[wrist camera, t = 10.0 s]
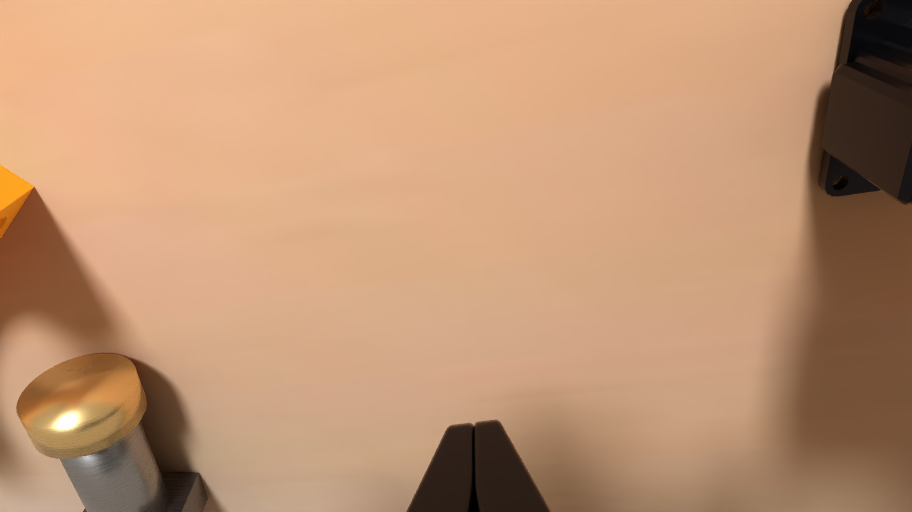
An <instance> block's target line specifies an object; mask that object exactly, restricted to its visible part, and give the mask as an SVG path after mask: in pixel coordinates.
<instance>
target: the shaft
mask: <svg viewBox="0 0 912 512" xmlns="http://www.w3.org/2000/svg"><path fill="white" fill-rule="evenodd" d="M146 406H147V399H146V396H145V393H144V390H143V387H142V385H141V382H140V379H139V377H138V374H137V371H136V368H135V366H134V364H133V363H132V362H131V361H130V360H129V359H127V358H126V357H124V356H121V355H117V354H112V353H97V354H89V355H84V356H80V357H76V358H73V359H70V360H68V361H65V362H62V363H60V364H58V365H56V366H54V367H52V368H50V369H49V370H47V371H45V372H44V373H42V374H41V375H39V376H38V377H37V378H36V379H34V380H33V381H32V382H31V383H30V384H29V385H28V386H27V387H26V388H25V390H24V391H23V392H22V394H21V395H20V397H19V399H18V402H17V414H18V416H19V418H20V420H21V422H22V424H23V426H24V428H25V429H26V431H27V433H28V435H29V437H30V439H31V441H32V442H33V444H34V446H35V448H36V449H37V450H38V451H39V452H40V453H42V454H44V455H46V456H49V457H52V458H60V460H61V462H62V464H63V466H64V468H65V470H66V472H67V474H68V476H69V478H70V480H71V482H72V484H73V486H74V488H75V489H76V491H77V493H78V495H79V497H80V499H81V501H82V503H83V505H84V507H85V509H84V511H83V512H203V509H204V507H205V504H206V502H207V497H206V494H205V491H204V488H203V485H202V482H201V479H200V476H199V473H160V471H159V468H158V465H157V463H156V460H155V458H154V455H153V452H152V450H151V447H150V445H149V442H148V440H147V437H146V434H145V432H144V429H143V427H142V424H141V422H140V420H141V419H142V417H143V415H144V413H145V410H146Z"/></svg>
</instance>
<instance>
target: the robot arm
mask: <svg viewBox="0 0 912 512" xmlns="http://www.w3.org/2000/svg"><path fill="white" fill-rule="evenodd" d="M872 1H874V2H875V6H874V9H873V11H872V12H871V13H870V14H869V15H867V16H865V13H864V11H865V9H866V6H867V5H868V4H869V3H870V2H872ZM821 146H822V148H823V149H824V152H823V158H822V164H821V169H820V175H819V186H820V188H821V189H822V190H823V191H825V192H826V193H827V194H829V195H831V196H844V195H851V194H858V193H865V192H871V191H878V190H882V191H884V192H885V193H887V194H888V195H889V196H891V197H892V198H894V199H895V200H897V201H898V202H900V203H901V204H904V205H906V204H912V0H852V1H851V3H850V5H849V8H848V11H847V17H846V23H845V29H844V35H843V41H842V46H841V52H840V58H839V64H838V67H837V69H836V70H835V71H834V73H833V76H832V82H831V88H830V94H829V100H828V106H827V112H826V118H825V124H824V130H823V136H822V142H821ZM840 176H842V178H841V180H840V181H839V182H838V183H837V184H834V185H832V184H833V182H834V180H835V179H836V178H838V177H840ZM407 512H551V511H550V509H549V507H548V506H547V504H546V502H545V500H544V498H543V497H542V495H541V493H540V491H539V490H538V488H537V486H536V484H535V483H534V481H533V479H532V477H531V475H530V474H529V472H528V470H527V468H526V467H525V465H524V463H523V461H522V460H521V458H520V456H519V454H518V452H517V451H516V449H515V447H514V445H513V444H512V442H511V440H510V438H509V437H508V435H507V433H506V431H505V429H504V428H503V426H502V424H501V423H500V422H499V421H498V420H489V421H481V422H477V423H475V425H473V424H471V423H465V424H456V425H451V426H449V427H448V428H447V430H446V431H445V434H444V436H443V438H442V440H441V442H440V444H439V446H438V448H437V450H436V452H435V454H434V456H433V458H432V460H431V462H430V464H429V467H428V469H427V471H426V473H425V475H424V477H423V479H422V481H421V483H420V485H419V487H418V489H417V491H416V493H415V495H414V497H413V499H412V502H411V504H410V506H409V508H408V510H407Z"/></svg>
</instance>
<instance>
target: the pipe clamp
mask: <svg viewBox="0 0 912 512" xmlns="http://www.w3.org/2000/svg"><path fill="white" fill-rule="evenodd" d="M33 188H34V186H32V185H31V184H29V183H28V182H26V181H25V180H23V179H22V178H20V177H18V176H17V175H15V174H14V173H12V172H11V171H9V170H7V169H6V168H4V167H3V166H1V165H0V239H1V238H2V236H3V235H4V233H5V232H6V230H7V228H8V227H9V225H10V224H11V222H12V221H13V219H14V217H15V216H16V214H17V213H18V211H19V210H20V208H21V207H22V205H23V203H24V202H25V200H26V199H27V197H28V196H29V194H30V193H31V191H32V189H33Z"/></svg>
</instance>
